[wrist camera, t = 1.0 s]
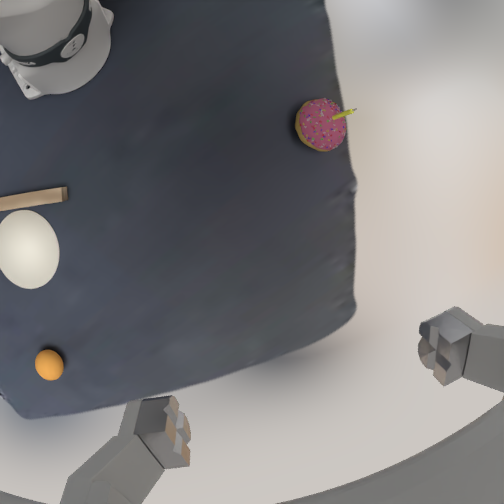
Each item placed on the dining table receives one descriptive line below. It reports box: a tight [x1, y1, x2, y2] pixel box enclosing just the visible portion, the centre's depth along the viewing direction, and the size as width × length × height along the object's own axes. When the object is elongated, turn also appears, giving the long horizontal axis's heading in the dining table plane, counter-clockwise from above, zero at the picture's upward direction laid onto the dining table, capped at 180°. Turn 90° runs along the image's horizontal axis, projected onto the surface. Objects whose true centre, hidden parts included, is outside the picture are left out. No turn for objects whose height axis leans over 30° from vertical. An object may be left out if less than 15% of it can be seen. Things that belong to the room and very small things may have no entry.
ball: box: [35, 350, 64, 380], centre depth 42 cm, size 6×6×6 cm
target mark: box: [0, 210, 59, 289], centre depth 39 cm, size 13×13×1 cm
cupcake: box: [295, 98, 356, 151], centre depth 43 cm, size 9×8×12 cm
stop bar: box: [0, 187, 68, 211], centre depth 36 cm, size 2×18×3 cm, turn 91°
